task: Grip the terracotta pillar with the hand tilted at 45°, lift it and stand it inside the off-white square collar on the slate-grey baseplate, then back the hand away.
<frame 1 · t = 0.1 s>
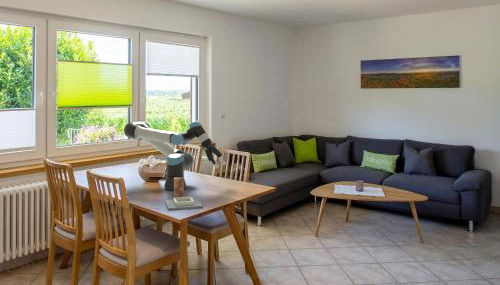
hand: (221, 166, 282), 15 cm above the table, tool tilted 35°, fingers open, 13 cm apart
stack of blocks: (164, 177, 315), on the table
baseplate: (183, 204, 240), on the table
pillar: (178, 196, 258), on the table
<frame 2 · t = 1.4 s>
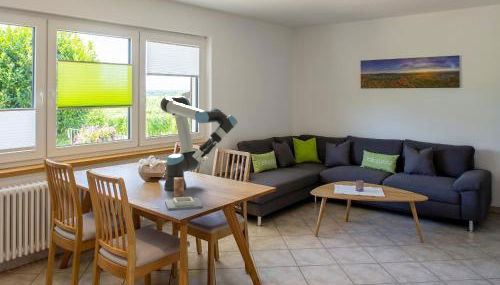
hand: (195, 159, 258), 24 cm above the table, tool tilted 45°, fingers open, 13 cm apart
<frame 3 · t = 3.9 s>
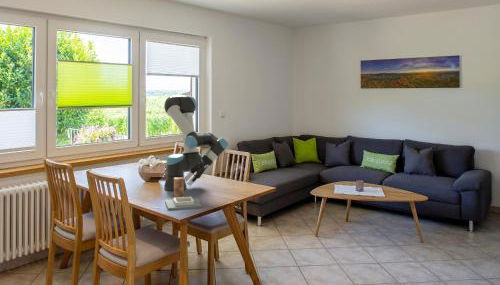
hand: (186, 182, 257), 9 cm above the table, tool tilted 45°, fingers open, 13 cm apart
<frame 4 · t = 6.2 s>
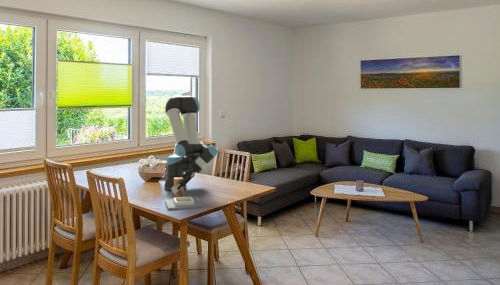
hand: (173, 191, 256), 4 cm above the table, tool tilted 45°, fingers closed on pillar, 5 cm apart
pillar: (178, 196, 258), on the table, touching gripper
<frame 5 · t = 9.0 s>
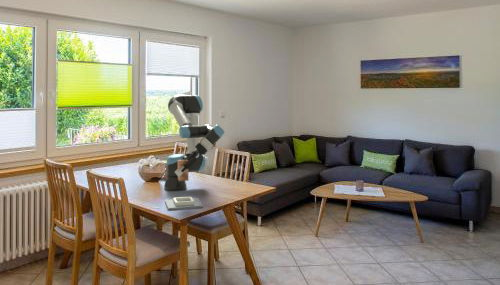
hand: (176, 174, 241), 17 cm above the table, tool tilted 45°, fingers closed on pillar, 5 cm apart
pillar: (183, 180, 242), point 14 cm above the table, touching gripper
when the fingers open (6 cm above the table, at t = 11.6 s): pillar stays where it is, resting on baseplate.
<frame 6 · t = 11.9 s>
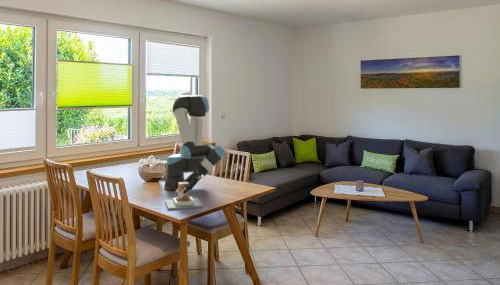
hand: (178, 194, 238), 6 cm above the table, tool tilted 45°, fingers open, 9 cm apart
pillar: (183, 202, 239), point 1 cm above the table, touching baseplate
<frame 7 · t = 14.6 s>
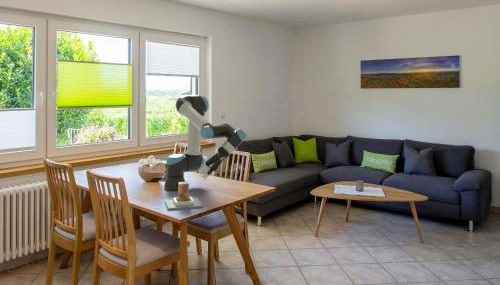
hand: (201, 175, 241), 17 cm above the table, tool tilted 45°, fingers open, 13 cm apart
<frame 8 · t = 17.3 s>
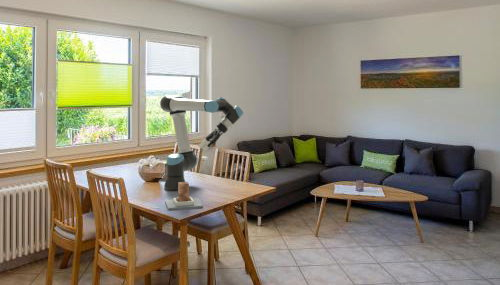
hand: (201, 148, 264), 30 cm above the table, tool tilted 45°, fingers open, 13 cm apart
at the end: pillar 0.0 cm off-centre on the baseplate, point 1.2 cm above the baseplate's base; pillar tilted 0°; the gripper is holding nothing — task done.
